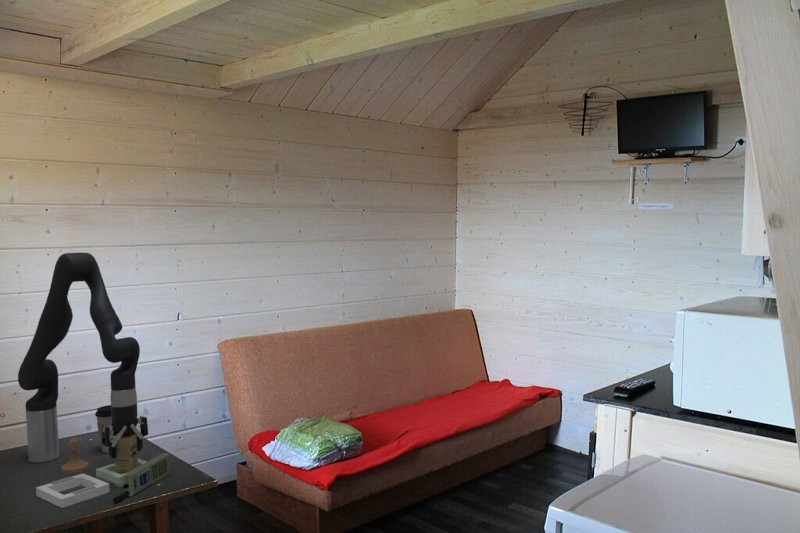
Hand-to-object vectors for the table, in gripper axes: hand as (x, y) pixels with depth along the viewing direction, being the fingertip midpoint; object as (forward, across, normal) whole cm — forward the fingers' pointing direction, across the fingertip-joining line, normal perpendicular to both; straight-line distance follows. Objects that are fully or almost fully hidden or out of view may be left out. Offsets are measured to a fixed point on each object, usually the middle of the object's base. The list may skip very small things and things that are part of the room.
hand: (126, 454), depth 214 cm
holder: (+7, +17, 0) cm, 18 cm away
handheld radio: (+8, +2, +12) cm, 14 cm away
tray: (+7, 0, 0) cm, 7 cm away
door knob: (+7, +6, -20) cm, 23 cm away
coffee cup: (+7, -11, -28) cm, 31 cm away
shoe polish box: (+6, 0, 0) cm, 6 cm away
